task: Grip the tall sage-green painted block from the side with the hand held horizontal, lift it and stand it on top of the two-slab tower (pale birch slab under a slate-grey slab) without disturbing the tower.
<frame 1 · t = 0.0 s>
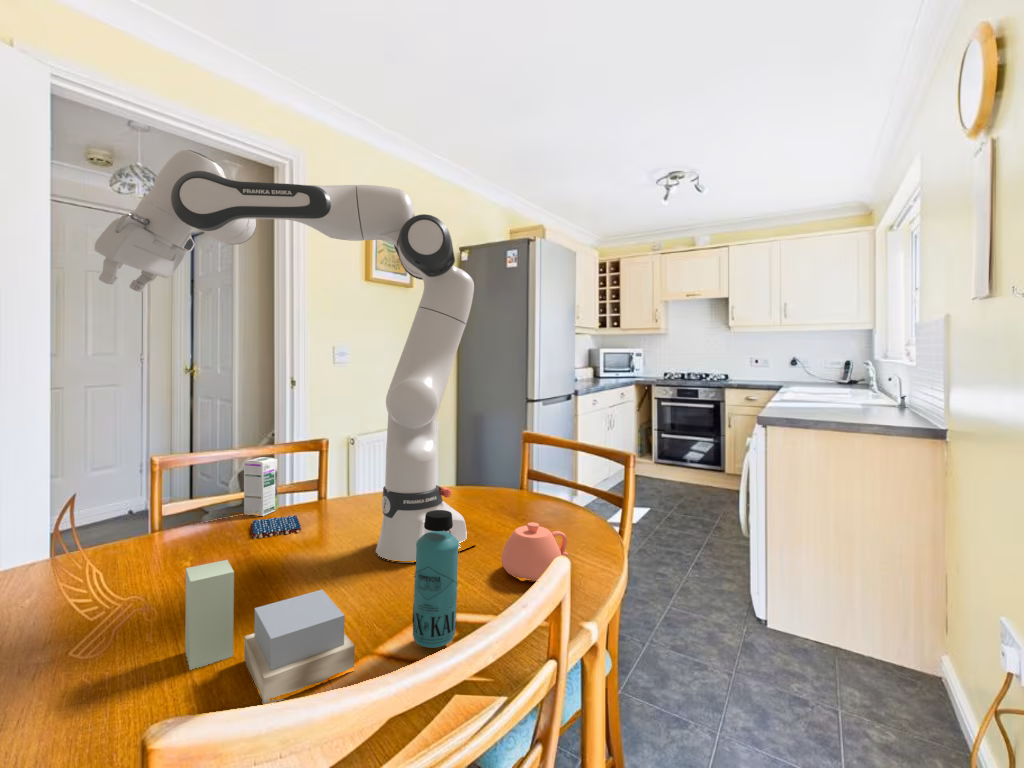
hand: (120, 286, 91), 54 cm above the table, tool tilted 30°, fingers open, 8 cm apart
beverage bottle: (434, 646, 70), on the table
sage block: (209, 654, 66), on the table
tower base: (298, 669, 64), on the table, touching tower top
tower top: (298, 640, 64), point 3 cm above the table, touching tower base
syrup box: (260, 513, 126), on the table
blue studded pad: (275, 532, 114), on the table
sugar bowl: (535, 574, 95), on the table
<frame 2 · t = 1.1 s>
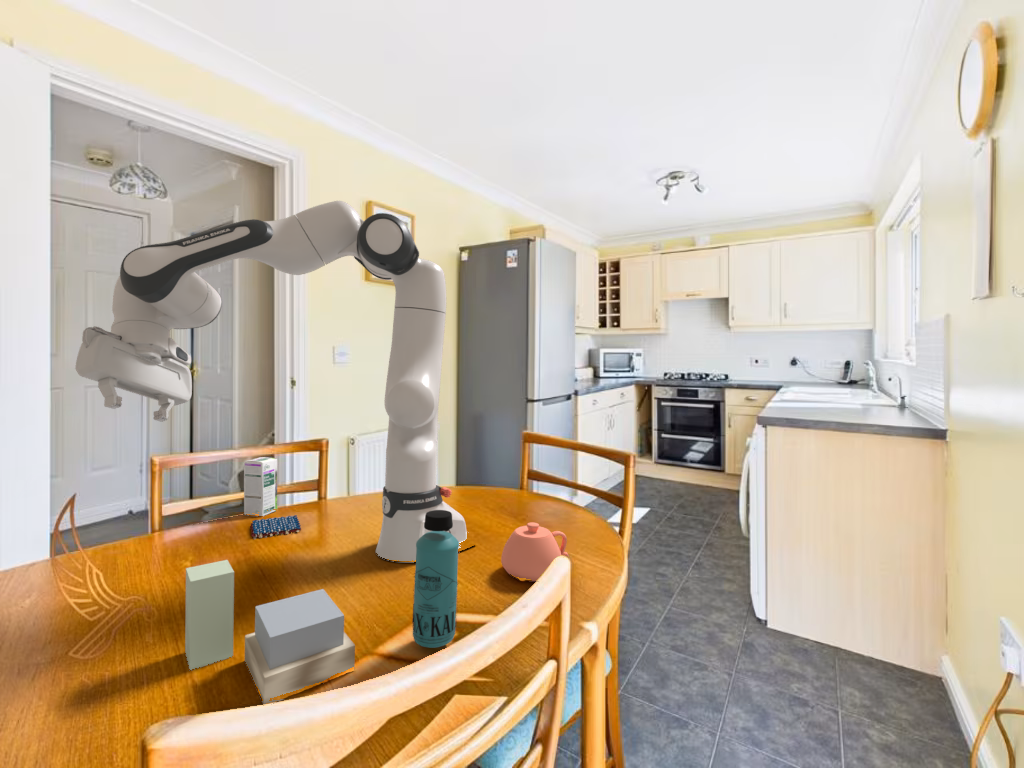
hand: (138, 414, 84), 31 cm above the table, tool tilted 25°, fingers open, 8 cm apart
tower base: (298, 668, 64), on the table
tower top: (298, 639, 64), point 4 cm above the table
everything else where it was.
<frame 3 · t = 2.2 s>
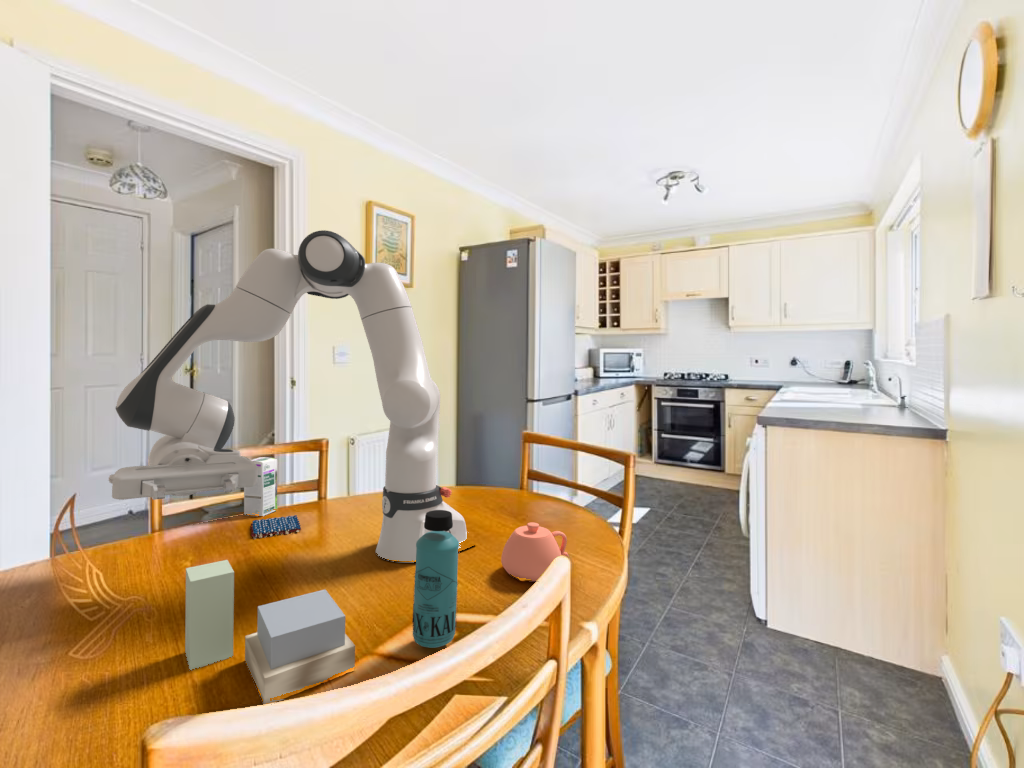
hand: (196, 490, 74), 20 cm above the table, tool horizontal, fingers open, 8 cm apart
nothing on the table moved.
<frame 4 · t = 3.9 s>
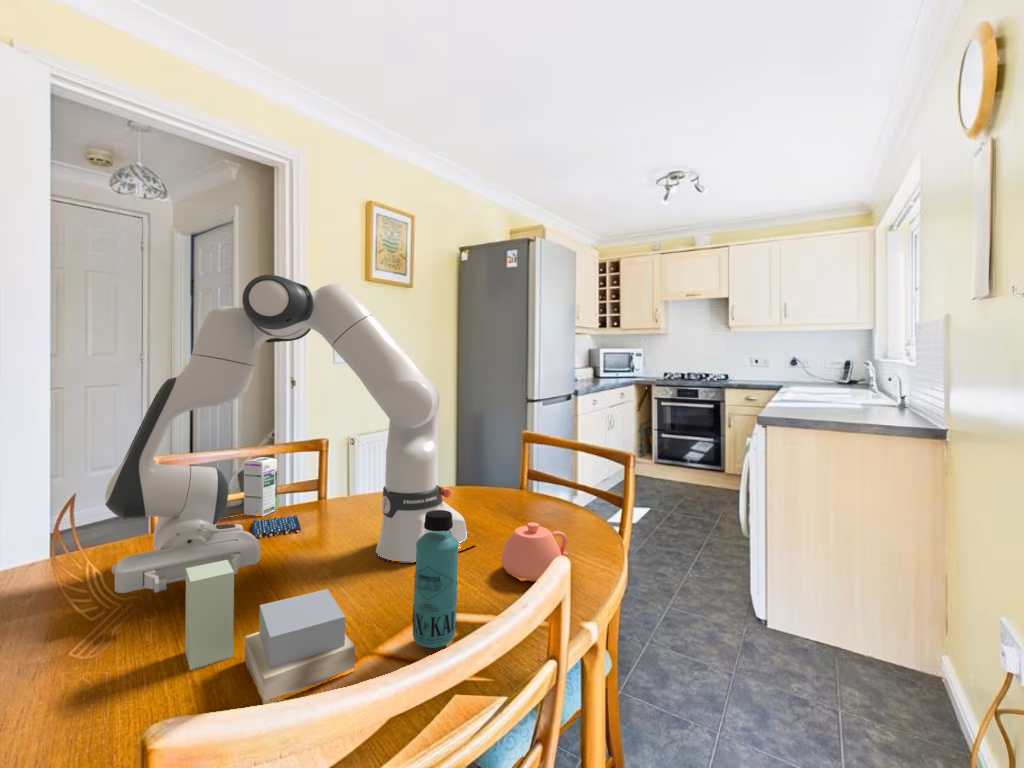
hand: (198, 578, 74), 7 cm above the table, tool horizontal, fingers open, 8 cm apart
tower base: (298, 669, 64), on the table, touching tower top
tower top: (301, 639, 64), point 4 cm above the table, touching tower base
everything else where it was.
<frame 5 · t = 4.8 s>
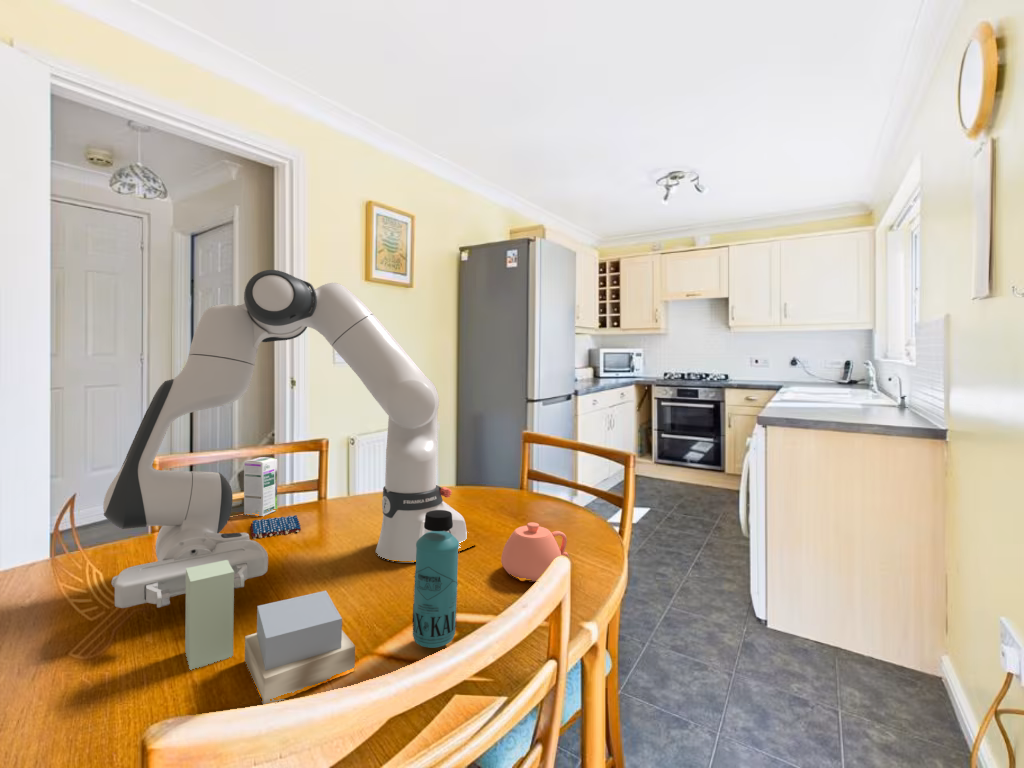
hand: (203, 591, 70), 6 cm above the table, tool horizontal, fingers open, 8 cm apart
nothing on the table moved.
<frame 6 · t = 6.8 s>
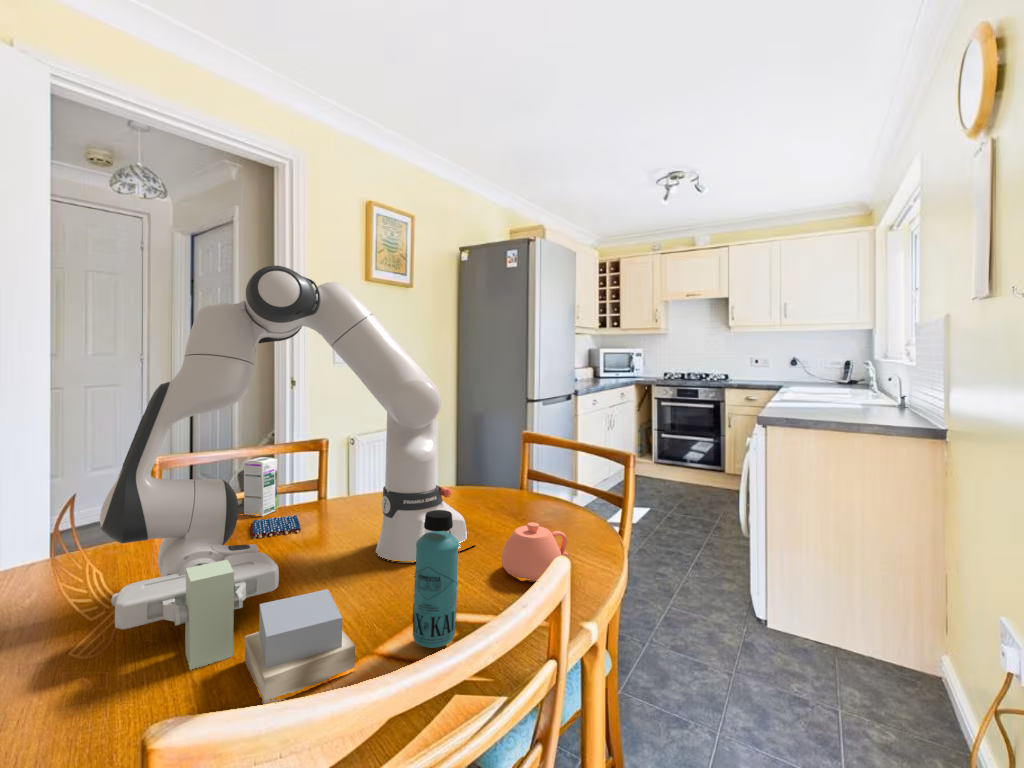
hand: (210, 611, 65), 7 cm above the table, tool horizontal, fingers closed on sage block, 5 cm apart
sage block: (209, 654, 66), on the table, touching gripper
tower base: (299, 669, 64), on the table
tower top: (299, 639, 64), point 4 cm above the table
everything else where it was.
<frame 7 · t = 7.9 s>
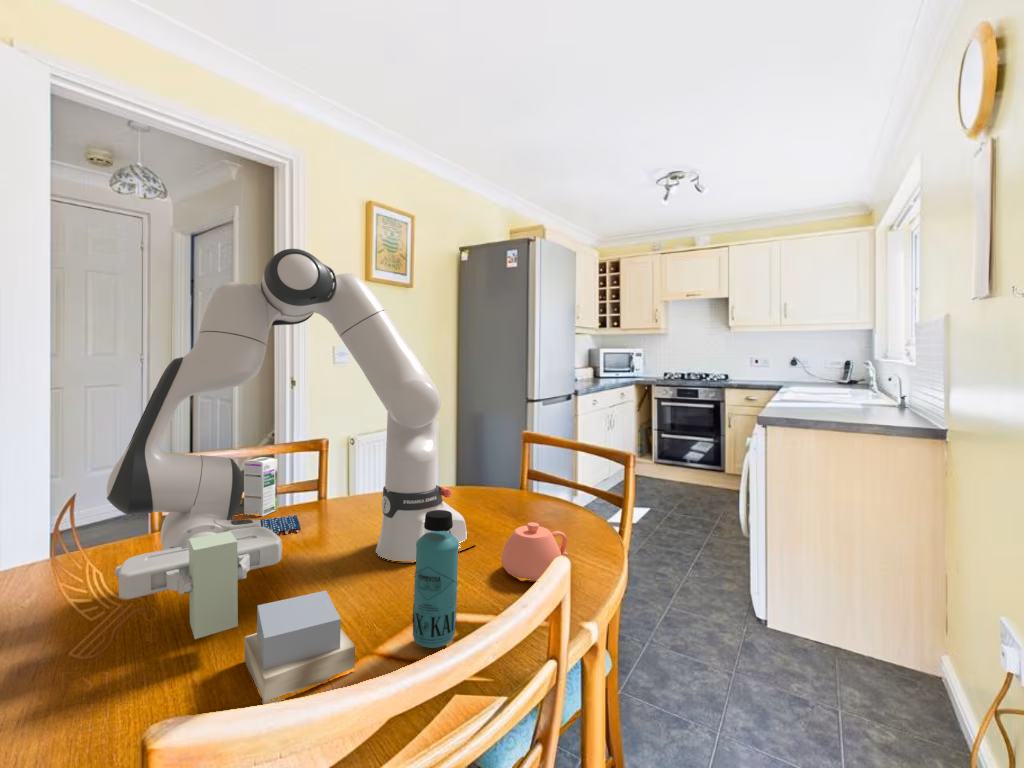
hand: (214, 580, 65), 11 cm above the table, tool horizontal, fingers closed on sage block, 5 cm apart
sage block: (213, 624, 66), point 4 cm above the table, touching gripper
tower base: (298, 669, 64), on the table, touching tower top
tower top: (297, 641, 64), point 4 cm above the table, touching tower base
everything else where it was.
when the fingers open (16 cm above the table, at t = 12.8 s): sage block drops 1 cm, resting on tower top.
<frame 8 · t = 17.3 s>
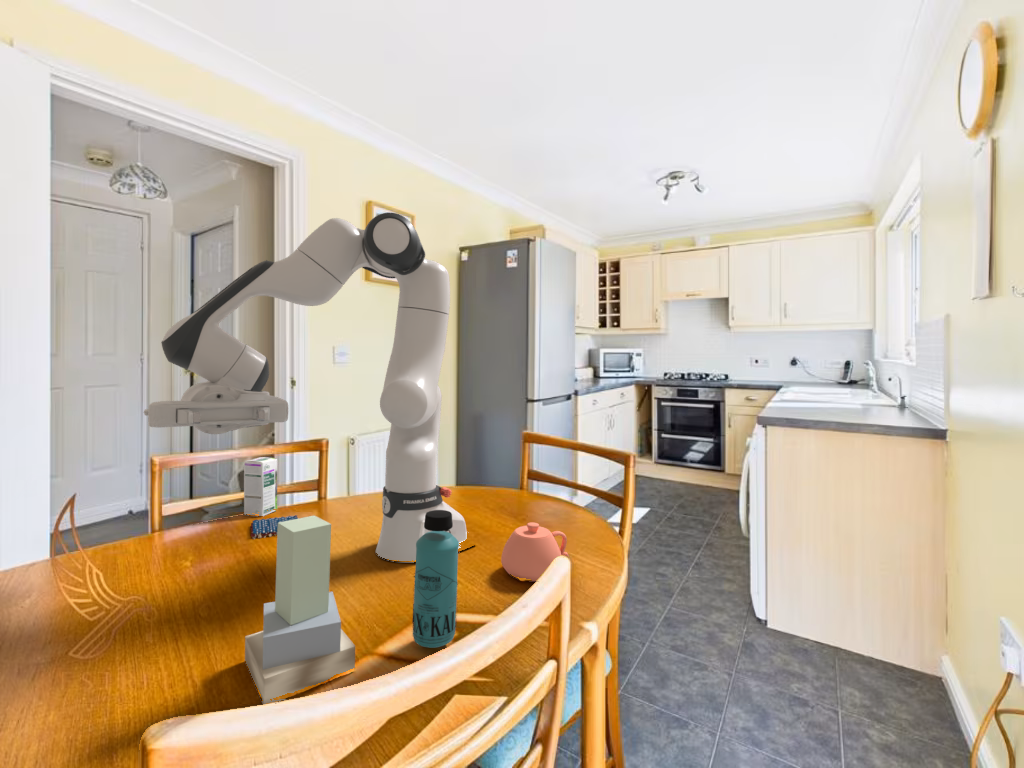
hand: (230, 417, 75), 32 cm above the table, tool horizontal, fingers open, 8 cm apart
sage block: (301, 611, 64), point 8 cm above the table, touching tower top
tower top: (300, 641, 64), point 3 cm above the table, touching sage block, tower base
everything else where it was.
at the end: sage block inside the target area on the tower top (0.1 cm from its centre), point 4.1 cm above the tower top's base; sage block tilted 1°; tower top moved 0.6 cm from its start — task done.
